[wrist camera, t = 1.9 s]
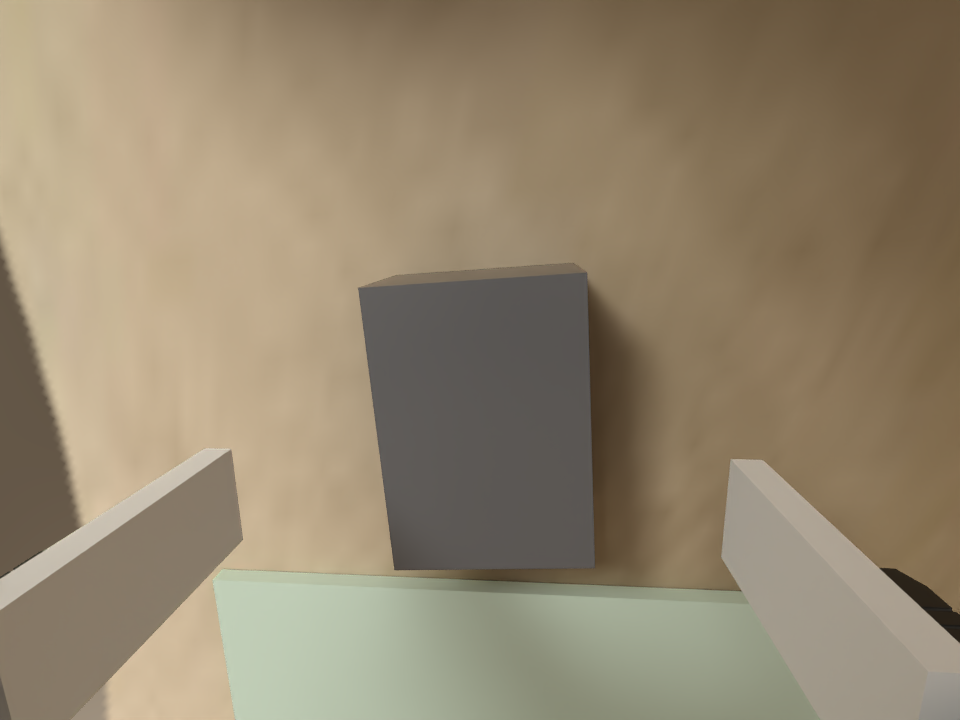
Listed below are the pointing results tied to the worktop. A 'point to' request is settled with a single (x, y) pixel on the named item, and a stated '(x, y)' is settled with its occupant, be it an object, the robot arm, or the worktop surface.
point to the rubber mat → (494, 651)
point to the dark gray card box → (484, 416)
